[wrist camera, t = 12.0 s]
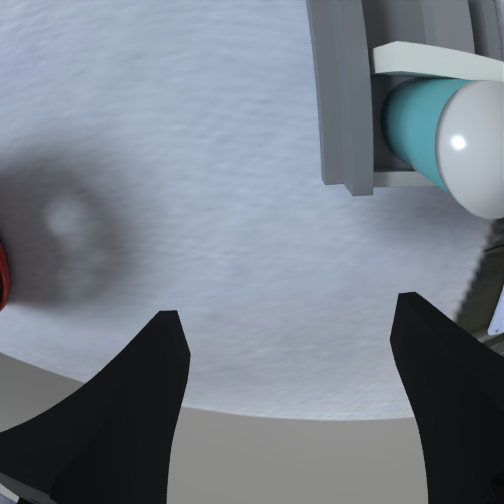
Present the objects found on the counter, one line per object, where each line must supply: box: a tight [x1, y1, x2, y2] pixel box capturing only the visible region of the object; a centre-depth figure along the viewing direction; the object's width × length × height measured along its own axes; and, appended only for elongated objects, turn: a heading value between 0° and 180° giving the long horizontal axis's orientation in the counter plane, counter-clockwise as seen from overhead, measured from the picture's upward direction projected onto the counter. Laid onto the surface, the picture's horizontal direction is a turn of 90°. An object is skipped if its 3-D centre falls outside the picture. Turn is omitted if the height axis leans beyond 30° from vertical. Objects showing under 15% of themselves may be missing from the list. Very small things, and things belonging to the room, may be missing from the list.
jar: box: [381, 78, 504, 219], centre depth 11 cm, size 5×5×7 cm
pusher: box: [368, 0, 504, 82], centre depth 10 cm, size 6×5×4 cm
